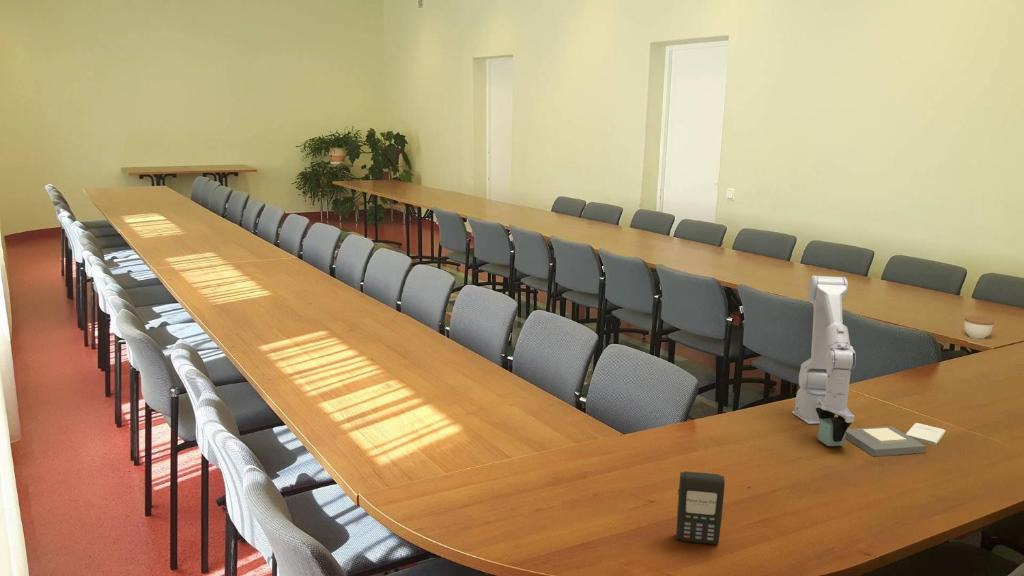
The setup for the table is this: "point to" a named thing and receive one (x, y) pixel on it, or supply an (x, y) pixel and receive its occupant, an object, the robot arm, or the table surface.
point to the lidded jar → (978, 326)
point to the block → (828, 433)
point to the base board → (884, 441)
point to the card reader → (700, 507)
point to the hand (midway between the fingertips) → (831, 437)
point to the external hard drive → (926, 433)
